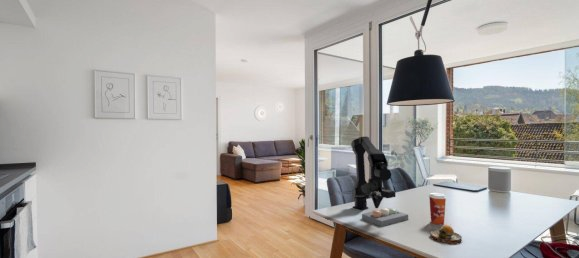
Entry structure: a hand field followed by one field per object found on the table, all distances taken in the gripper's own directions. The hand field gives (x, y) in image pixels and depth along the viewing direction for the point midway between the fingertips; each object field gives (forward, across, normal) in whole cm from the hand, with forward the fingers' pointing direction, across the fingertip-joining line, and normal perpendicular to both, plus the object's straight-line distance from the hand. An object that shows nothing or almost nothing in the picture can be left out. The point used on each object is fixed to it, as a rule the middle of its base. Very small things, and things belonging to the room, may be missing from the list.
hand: (376, 208), depth 141 cm
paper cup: (+7, +17, +23) cm, 30 cm away
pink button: (+5, 0, 0) cm, 5 cm away
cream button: (+5, 0, +6) cm, 8 cm away
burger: (+7, +30, +8) cm, 32 cm away
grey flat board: (+6, 0, +6) cm, 9 cm away
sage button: (+6, 0, +12) cm, 13 cm away
